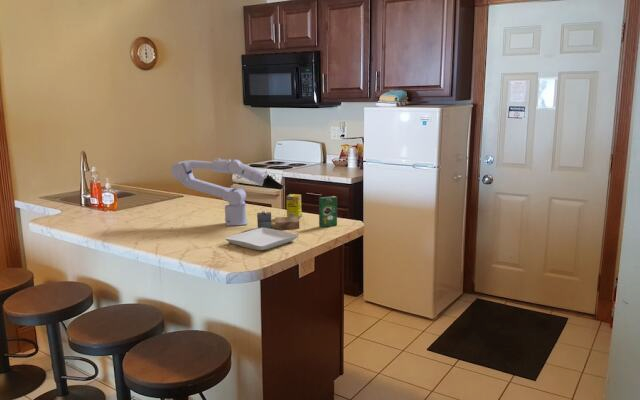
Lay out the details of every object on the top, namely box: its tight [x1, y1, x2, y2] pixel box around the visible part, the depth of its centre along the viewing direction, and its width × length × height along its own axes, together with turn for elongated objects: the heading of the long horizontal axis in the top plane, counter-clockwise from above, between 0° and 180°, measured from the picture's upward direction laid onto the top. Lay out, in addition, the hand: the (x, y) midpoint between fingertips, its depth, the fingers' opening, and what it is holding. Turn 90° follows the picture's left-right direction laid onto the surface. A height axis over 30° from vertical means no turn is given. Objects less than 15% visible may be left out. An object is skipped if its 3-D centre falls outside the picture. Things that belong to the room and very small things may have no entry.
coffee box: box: [318, 195, 338, 228], centre depth 225 cm, size 8×3×13 cm, turn 119°
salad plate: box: [225, 228, 299, 251], centre depth 202 cm, size 21×21×3 cm
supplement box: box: [285, 193, 303, 220], centre depth 241 cm, size 6×6×11 cm
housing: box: [256, 210, 273, 229], centre depth 223 cm, size 6×4×8 cm, turn 96°
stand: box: [275, 216, 300, 230], centre depth 227 cm, size 10×10×3 cm
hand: (280, 187), depth 228 cm, fingers open, 7 cm apart
